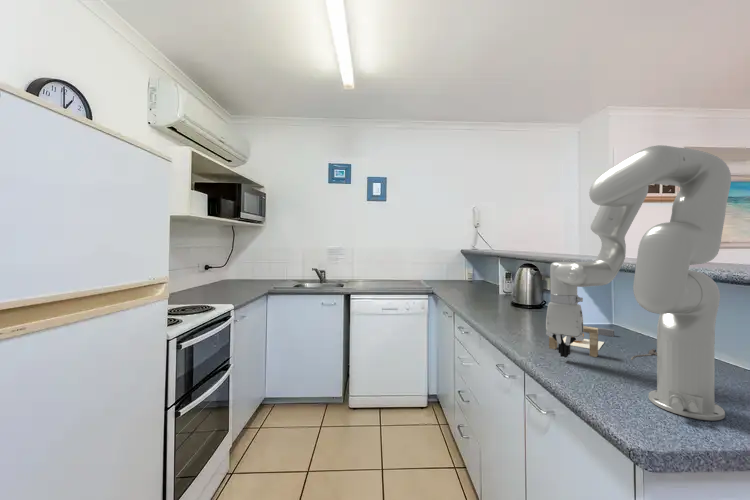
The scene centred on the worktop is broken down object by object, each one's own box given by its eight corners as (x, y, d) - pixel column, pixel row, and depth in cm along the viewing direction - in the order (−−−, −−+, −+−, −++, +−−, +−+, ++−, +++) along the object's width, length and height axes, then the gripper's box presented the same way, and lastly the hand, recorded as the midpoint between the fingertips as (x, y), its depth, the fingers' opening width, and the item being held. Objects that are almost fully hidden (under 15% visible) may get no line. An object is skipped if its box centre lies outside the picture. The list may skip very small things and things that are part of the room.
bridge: (596, 357, 107) (596, 330, 107) (549, 348, 117) (549, 323, 117) (598, 355, 109) (598, 328, 109) (551, 346, 119) (551, 321, 119)
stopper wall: (613, 336, 132) (613, 330, 132) (569, 330, 143) (569, 324, 143) (614, 335, 133) (614, 329, 133) (570, 329, 144) (570, 323, 144)
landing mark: (598, 350, 114) (598, 349, 114) (557, 343, 123) (557, 342, 123) (604, 342, 124) (604, 342, 124) (566, 336, 132) (566, 335, 132)
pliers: (631, 360, 103) (629, 345, 119) (631, 362, 103) (629, 347, 119) (671, 366, 97) (664, 350, 113) (671, 369, 97) (664, 352, 113)
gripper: (593, 300, 101) (594, 358, 101) (542, 296, 111) (542, 348, 111) (588, 303, 96) (589, 364, 95) (535, 298, 106) (536, 354, 106)
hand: (564, 356), depth 103 cm, fingers closed
